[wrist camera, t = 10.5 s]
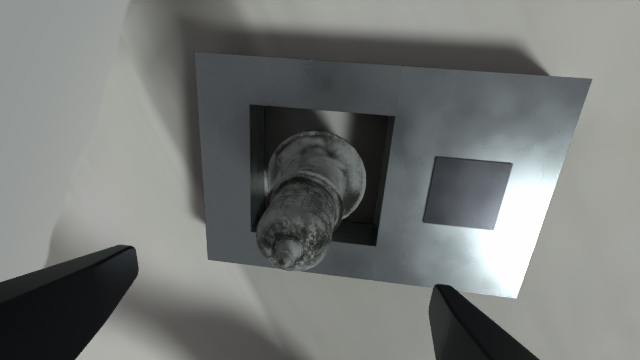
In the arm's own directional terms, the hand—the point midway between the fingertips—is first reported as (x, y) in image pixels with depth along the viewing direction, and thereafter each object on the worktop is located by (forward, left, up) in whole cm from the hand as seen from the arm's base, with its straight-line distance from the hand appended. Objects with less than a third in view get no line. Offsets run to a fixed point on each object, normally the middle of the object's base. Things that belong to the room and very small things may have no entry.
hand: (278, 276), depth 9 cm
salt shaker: (0, 0, -13) cm, 13 cm away
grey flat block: (0, -3, -12) cm, 13 cm away
